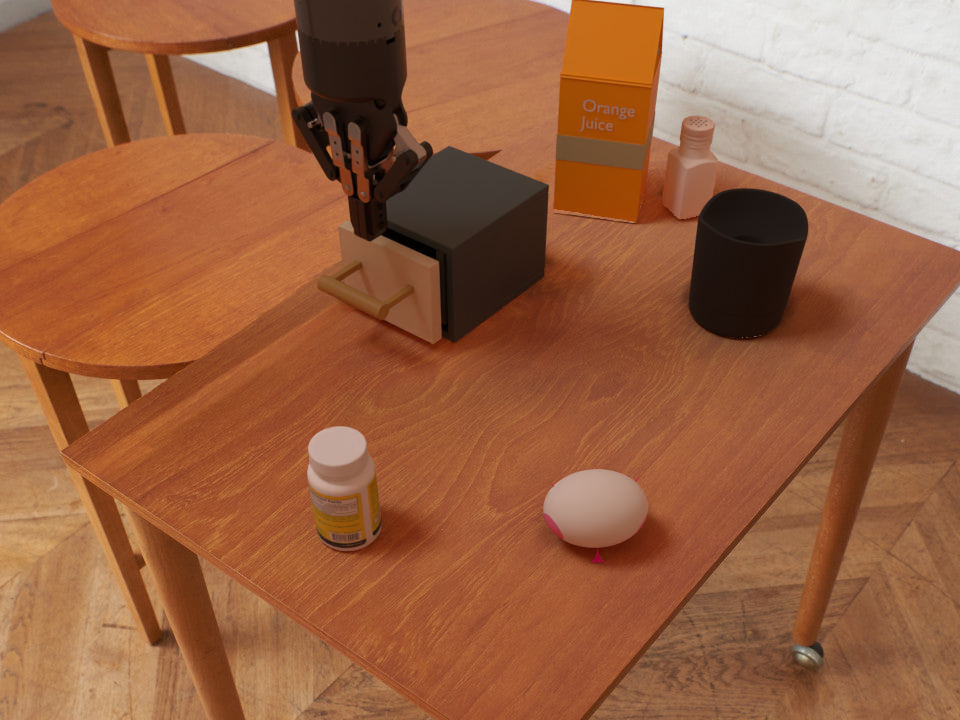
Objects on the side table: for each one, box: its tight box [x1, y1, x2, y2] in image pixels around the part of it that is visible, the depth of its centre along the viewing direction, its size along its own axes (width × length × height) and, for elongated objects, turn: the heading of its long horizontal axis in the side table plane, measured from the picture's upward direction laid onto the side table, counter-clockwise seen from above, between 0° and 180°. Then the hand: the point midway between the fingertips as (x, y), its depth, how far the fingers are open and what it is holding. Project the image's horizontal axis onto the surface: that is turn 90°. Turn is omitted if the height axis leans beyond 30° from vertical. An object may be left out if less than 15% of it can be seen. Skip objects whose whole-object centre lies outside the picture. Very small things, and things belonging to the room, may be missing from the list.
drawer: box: [316, 219, 448, 345], centre depth 93 cm, size 17×10×8 cm, turn 143°
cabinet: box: [386, 145, 550, 344], centre depth 96 cm, size 14×12×10 cm
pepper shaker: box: [661, 115, 719, 220], centre depth 106 cm, size 4×4×10 cm
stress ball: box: [542, 468, 649, 564], centre depth 76 cm, size 8×8×7 cm
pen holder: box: [688, 187, 809, 339], centre depth 93 cm, size 9×9×10 cm
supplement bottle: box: [306, 425, 383, 552], centre depth 74 cm, size 5×5×8 cm
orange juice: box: [553, 0, 665, 222], centre depth 103 cm, size 8×9×20 cm
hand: (370, 234), depth 86 cm, fingers closed
